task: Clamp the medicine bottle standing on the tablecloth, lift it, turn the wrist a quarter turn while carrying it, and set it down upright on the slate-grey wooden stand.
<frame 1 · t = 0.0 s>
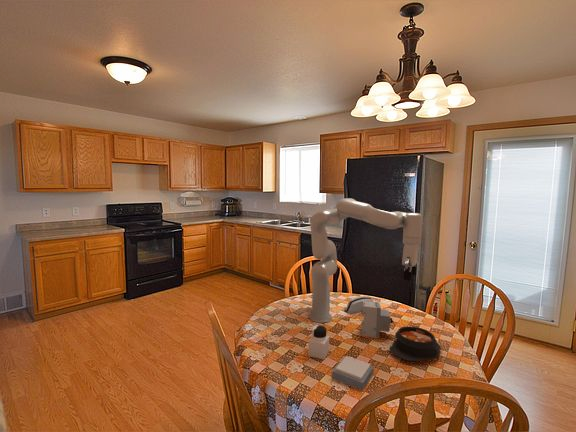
hand: (409, 277, 137), 31 cm above the table, fingers open, 9 cm apart
grey curved block: (359, 311, 175), on the table
stand: (352, 376, 114), on the table
casserole: (415, 352, 132), on the table
medicine bottle: (318, 354, 129), on the table
circuit breaker: (376, 334, 148), on the table
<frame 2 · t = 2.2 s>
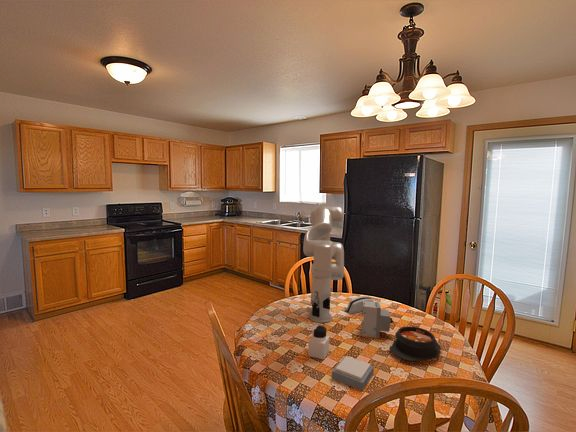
hand: (321, 312, 128), 19 cm above the table, fingers open, 9 cm apart
nothing on the table moved.
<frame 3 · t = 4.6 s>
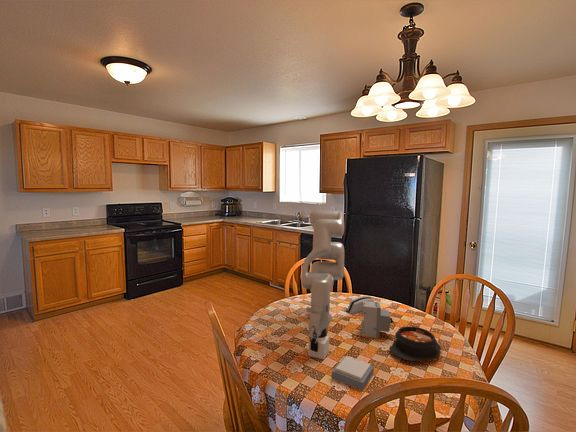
hand: (318, 346, 129), 3 cm above the table, fingers closed on medicine bottle, 7 cm apart
medicine bottle: (318, 354, 129), on the table, touching gripper
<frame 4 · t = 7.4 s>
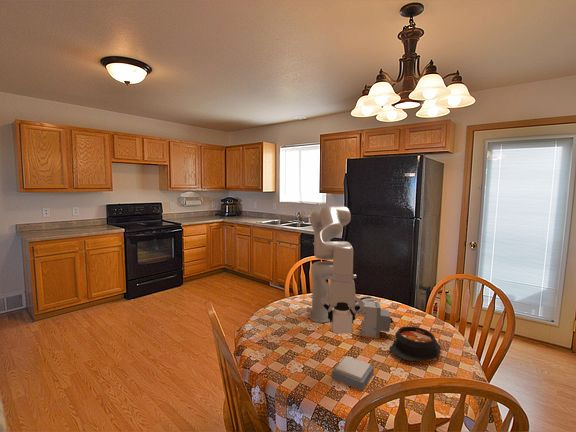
hand: (341, 320, 117), 20 cm above the table, fingers closed on medicine bottle, 7 cm apart
medicine bottle: (340, 329, 117), point 16 cm above the table, touching gripper
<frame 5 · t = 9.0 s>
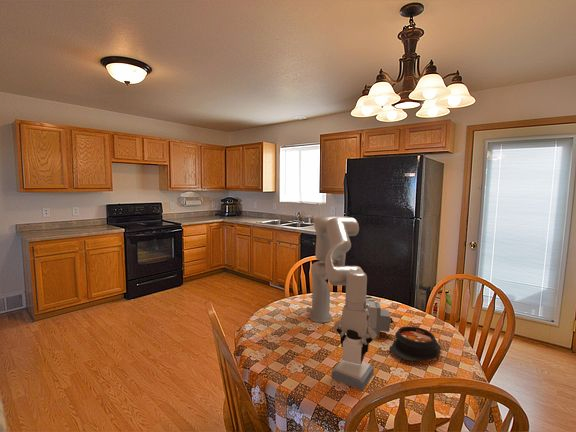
hand: (353, 349, 113), 11 cm above the table, fingers closed on medicine bottle, 7 cm apart
medicine bottle: (353, 358, 114), point 7 cm above the table, touching gripper
when the fingers open (9 cm above the table, at t = 10.4 s): medicine bottle drops 1 cm, resting on stand.
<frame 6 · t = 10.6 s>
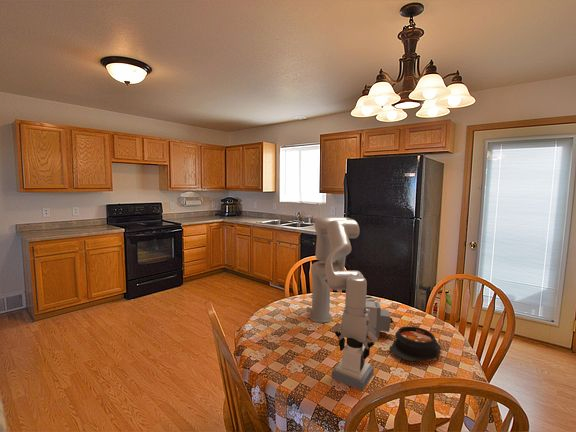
hand: (353, 353, 114), 9 cm above the table, fingers open, 9 cm apart
medicine bottle: (353, 366, 114), point 4 cm above the table, touching stand
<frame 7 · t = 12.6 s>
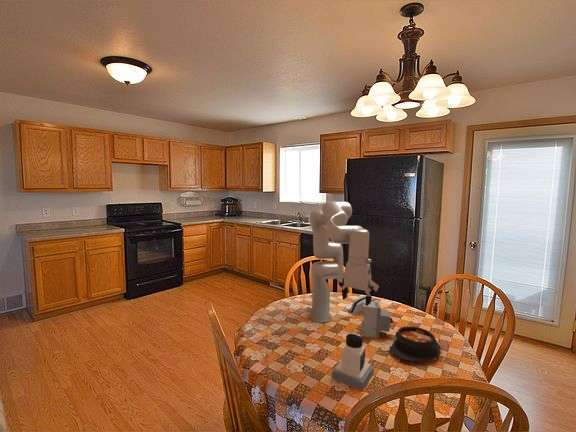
hand: (356, 301, 120), 26 cm above the table, fingers open, 9 cm apart
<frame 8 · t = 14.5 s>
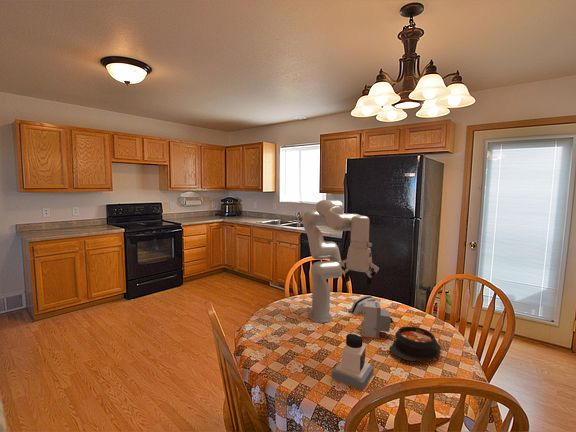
hand: (358, 283, 130), 30 cm above the table, fingers open, 9 cm apart
at the end: medicine bottle inside the target area on the stand (0.2 cm from its centre), point 3.8 cm above the stand's base; medicine bottle tilted 0°; the gripper is holding nothing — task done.
